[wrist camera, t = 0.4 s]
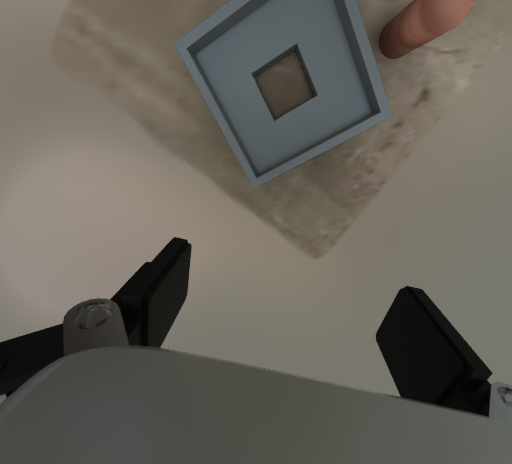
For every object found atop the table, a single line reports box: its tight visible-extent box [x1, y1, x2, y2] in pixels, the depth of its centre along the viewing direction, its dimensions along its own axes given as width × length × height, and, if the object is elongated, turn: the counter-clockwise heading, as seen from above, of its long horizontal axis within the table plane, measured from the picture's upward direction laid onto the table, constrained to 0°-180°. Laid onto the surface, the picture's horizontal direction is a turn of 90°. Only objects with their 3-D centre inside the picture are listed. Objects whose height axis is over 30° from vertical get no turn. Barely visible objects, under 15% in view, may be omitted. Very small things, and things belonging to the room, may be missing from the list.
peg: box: [379, 0, 473, 59], centre depth 25 cm, size 4×4×10 cm
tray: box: [174, 0, 393, 188], centre depth 30 cm, size 18×18×6 cm
